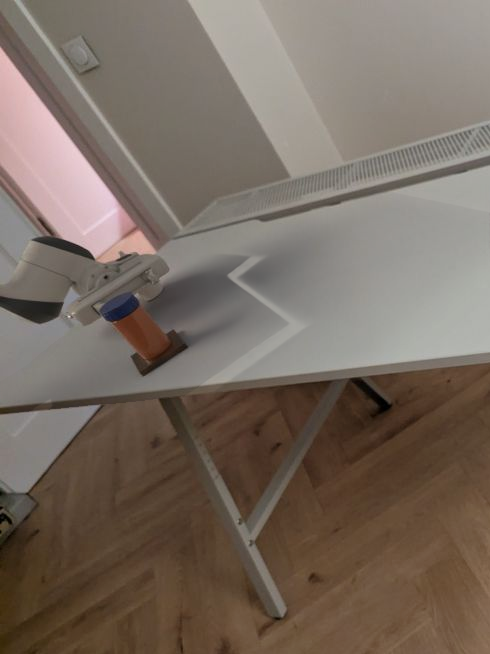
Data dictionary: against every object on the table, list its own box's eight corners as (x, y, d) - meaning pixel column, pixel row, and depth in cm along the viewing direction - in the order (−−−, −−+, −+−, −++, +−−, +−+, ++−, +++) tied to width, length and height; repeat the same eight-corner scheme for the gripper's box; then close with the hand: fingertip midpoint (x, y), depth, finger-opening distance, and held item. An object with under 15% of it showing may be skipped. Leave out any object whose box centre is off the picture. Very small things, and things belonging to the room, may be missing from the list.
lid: (109, 325, 93) (101, 316, 92) (104, 316, 97) (96, 307, 96) (142, 306, 95) (134, 297, 94) (136, 297, 99) (128, 288, 98)
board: (142, 376, 97) (139, 372, 97) (133, 359, 104) (130, 356, 103) (187, 347, 100) (184, 343, 100) (176, 332, 107) (173, 329, 106)
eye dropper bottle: (140, 300, 127) (104, 258, 120) (160, 286, 130) (126, 244, 123) (148, 302, 124) (112, 259, 117) (169, 288, 127) (134, 244, 120)
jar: (145, 363, 98) (104, 318, 92) (139, 353, 103) (99, 309, 96) (174, 345, 101) (136, 299, 94) (167, 335, 105) (130, 291, 98)
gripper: (50, 302, 108) (73, 312, 99) (140, 247, 118) (167, 252, 110) (73, 327, 112) (97, 338, 103) (158, 271, 122) (186, 277, 114)
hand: (134, 293), depth 107 cm, fingers open, 8 cm apart
